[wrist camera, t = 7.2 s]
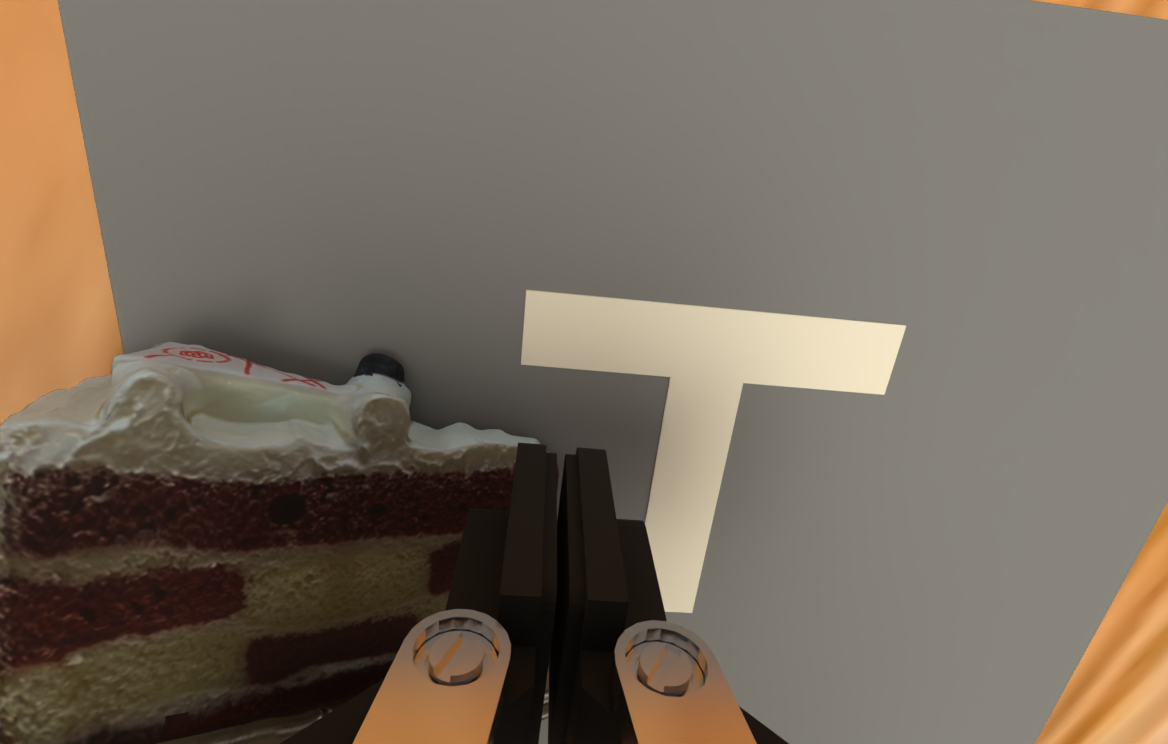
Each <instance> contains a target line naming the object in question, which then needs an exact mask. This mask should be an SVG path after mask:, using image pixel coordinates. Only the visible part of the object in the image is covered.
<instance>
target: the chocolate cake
mask: <svg viewBox="0 0 1168 744" xmlns="http://www.w3.org/2000/svg"><path fill="white" fill-rule="evenodd" d="M111 369H112V375H106V376H100V377H92V378H88V379H85V380H83V381H81V382H80V383H79V384H78V385H77V386H75V387H73V388H71V389H59V390H54V391H52V392H50V393H48V394H46V395H43V396H42V397H40V398H39V399H37V400H36V401H34V402H32V403H30V404H29V405H28V406H26V407H25V408H24V409H23V410H22V411H20V412H18V413H15V414H13V415H11V416H9V417H8V418H7V419H6V420H5V421H4V422H3V423H2V424H1V426H0V744H280V743H282V742H283V741H285V740H286V739H288V738H290V737H291V736H293V735H294V734H296V733H298V732H299V731H301V730H302V729H304V728H306V727H307V726H309V725H310V724H312V723H314V722H315V721H317V720H318V719H320V718H322V717H323V716H325V715H326V714H328V713H330V712H331V711H333V710H334V709H336V708H338V707H339V706H341V705H342V704H344V703H346V702H347V701H349V700H350V699H352V698H354V697H355V696H357V695H358V694H360V693H362V692H363V691H365V690H366V689H368V688H370V687H371V686H373V685H374V684H376V683H378V682H379V681H381V680H382V679H384V678H385V677H386V675H387V673H388V671H389V669H390V667H391V665H392V663H393V661H394V659H395V657H396V655H397V653H398V651H399V649H400V647H401V645H402V643H403V641H404V639H405V638H406V636H407V635H408V634H409V632H410V631H411V629H412V628H413V627H414V626H416V625H417V624H418V623H419V622H421V621H422V620H423V619H425V618H427V617H429V616H431V615H433V614H436V613H438V612H441V611H445V609H446V605H447V601H448V596H449V592H450V588H451V583H452V579H453V575H454V570H455V566H456V562H457V557H458V553H459V549H460V544H461V540H462V536H463V531H464V527H465V523H466V518H467V514H468V510H469V509H470V508H477V509H491V510H505V511H510V504H511V496H512V488H513V480H514V472H515V463H516V455H517V447H518V442H519V443H531V444H540V442H539V441H538V440H537V439H535V438H528V437H519V436H513V435H510V434H507V433H505V432H504V431H502V430H499V429H487V430H477V429H475V428H473V427H471V426H470V425H468V424H466V423H461V422H458V423H455V424H452V425H450V426H447V427H445V428H443V429H439V430H436V429H433V428H431V427H428V426H425V425H423V424H420V423H417V422H415V421H413V420H411V419H410V418H411V417H410V411H409V407H410V403H411V392H410V390H409V389H408V388H407V387H406V386H405V373H404V368H403V366H402V365H401V364H400V363H399V362H398V361H397V360H395V359H393V358H391V357H389V356H387V355H385V354H382V353H372V354H368V355H366V356H364V357H363V358H362V359H361V361H360V362H359V365H358V367H357V369H356V373H355V374H354V376H353V377H352V378H351V379H350V380H349V381H348V382H347V383H346V384H345V385H332V384H329V383H327V382H325V381H321V380H316V379H311V378H307V377H303V376H300V375H297V374H293V373H286V372H282V371H278V370H276V369H273V368H270V367H266V366H262V365H259V364H256V363H253V362H251V361H248V360H246V359H243V358H239V357H236V356H232V355H229V354H225V353H221V352H218V351H215V350H211V349H208V348H206V347H204V346H201V345H186V344H181V343H176V342H165V343H159V344H157V345H155V346H154V347H152V348H151V349H148V350H142V351H138V352H134V353H131V354H121V355H117V356H116V357H114V359H113V362H112V367H111ZM546 452H548V451H546ZM549 453H550V452H549ZM558 478H559V469H558V465H557V489H558ZM548 699H549V666H548V673H547V681H546V689H545V697H544V704H543V712H542V720H545V719H546V718H548ZM542 720H541V721H542Z"/></svg>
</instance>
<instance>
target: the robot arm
mask: <svg viewBox="0 0 1168 744" xmlns="http://www.w3.org/2000/svg"><path fill="white" fill-rule="evenodd" d="M548 666H549V699H548V744H789V743H788V742H786V741H785V740H784V739H782V738H781V737H780V736H778V735H777V734H776V733H774V732H773V731H772V730H770V729H769V728H768V727H766V726H765V725H764V724H762V723H761V722H760V721H758V720H757V719H756V718H754V717H753V716H752V715H750V714H749V713H748V712H746V711H745V710H744V709H742V708H741V707H740V706H739V705H738V703H737V701H736V699H735V697H734V695H733V693H732V690H731V688H730V686H729V684H728V682H727V680H726V678H725V676H724V674H723V671H722V669H721V667H720V665H719V663H718V661H717V659H716V657H715V655H714V654H713V652H712V651H711V649H710V648H709V646H708V645H707V644H706V643H705V642H704V641H703V640H702V639H701V638H700V637H699V636H698V635H696V634H695V633H694V632H692V631H690V630H688V629H686V628H685V627H683V626H681V625H677V624H674V623H671V622H667V619H666V615H665V610H664V606H663V601H662V597H661V592H660V588H659V583H658V579H657V574H656V570H655V565H654V561H653V556H652V552H651V547H650V543H649V539H648V534H647V530H646V526H645V523H644V522H643V521H642V520H628V519H616V513H615V506H614V500H613V493H612V487H611V480H610V473H609V467H608V460H607V454H606V450H604V449H592V448H580V447H577V449H576V455H573V454H565V459H564V467H563V476H562V484H561V492H560V501H559V509H558V517H557V453H549V452H546V445H543V444H531V443H519V442H518V447H517V455H516V463H515V472H514V480H513V488H512V496H511V504H510V511H505V510H491V509H477V508H470V509H469V510H468V514H467V518H466V523H465V527H464V531H463V536H462V540H461V544H460V549H459V553H458V557H457V562H456V566H455V570H454V575H453V579H452V583H451V588H450V592H449V596H448V601H447V605H446V609H445V611H441V612H438V613H436V614H433V615H431V616H429V617H427V618H425V619H423V620H422V621H421V622H419V623H418V624H417V625H416V626H414V627H413V628H412V629H411V631H410V632H409V634H408V635H407V636H406V638H405V639H404V641H403V643H402V645H401V647H400V649H399V651H398V653H397V655H396V657H395V659H394V661H393V663H392V665H391V667H390V669H389V671H388V673H387V675H386V677H385V678H384V679H382V680H381V681H379V682H378V683H376V684H374V685H373V686H371V687H370V688H368V689H366V690H365V691H363V692H362V693H360V694H358V695H357V696H355V697H354V698H352V699H350V700H349V701H347V702H346V703H344V704H342V705H341V706H339V707H338V708H336V709H334V710H333V711H331V712H330V713H328V714H326V715H325V716H323V717H322V718H320V719H318V720H317V721H315V722H314V723H312V724H310V725H309V726H307V727H306V728H304V729H302V730H301V731H299V732H298V733H296V734H294V735H293V736H291V737H290V738H288V739H286V740H285V741H283V742H282V743H280V744H538V743H539V736H540V728H541V720H542V712H543V704H544V697H545V689H546V681H547V673H548Z"/></svg>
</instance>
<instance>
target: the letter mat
mask: <svg viewBox="0 0 1168 744" xmlns="http://www.w3.org/2000/svg"><path fill="white" fill-rule="evenodd" d="M58 4H59V10H60V15H61V20H62V26H63V31H64V36H65V42H66V47H67V52H68V58H69V63H70V68H71V74H72V79H73V84H74V90H75V95H76V100H77V106H78V111H79V116H80V122H81V127H82V132H83V138H84V143H85V148H86V154H87V159H88V164H89V170H90V175H91V180H92V186H93V191H94V196H95V202H96V207H97V212H98V218H99V223H100V228H101V234H102V239H103V244H104V250H105V255H106V260H107V265H108V271H109V276H110V281H111V287H112V292H113V297H114V303H115V308H116V313H117V319H118V324H119V329H120V335H121V340H122V345H123V351H124V354H131V353H134V352H138V351H142V350H148V349H151V348H152V347H154V346H155V345H157V344H159V343H165V342H176V343H181V344H186V345H201V346H204V347H206V348H208V349H211V350H215V351H218V352H221V353H225V354H229V355H232V356H236V357H239V358H243V359H246V360H248V361H251V362H253V363H256V364H259V365H262V366H266V367H270V368H273V369H276V370H278V371H282V372H286V373H293V374H297V375H300V376H303V377H307V378H311V379H316V380H321V381H325V382H327V383H329V384H332V385H345V384H346V383H347V382H348V381H349V380H350V379H351V378H352V377H353V376H354V374H355V373H356V369H357V367H358V365H359V362H360V361H361V359H362V358H363V357H364V356H366V355H368V354H372V353H382V354H385V355H387V356H389V357H391V358H393V359H395V360H397V361H398V362H399V363H400V364H401V365H402V366H403V368H404V373H405V386H406V387H407V388H408V389H409V390H410V392H411V403H410V407H409V411H410V417H411V418H410V419H411V420H413V421H415V422H417V423H420V424H423V425H425V426H428V427H431V428H433V429H436V430H439V429H443V428H445V427H447V426H450V425H452V424H455V423H458V422H461V423H466V424H468V425H470V426H471V427H473V428H475V429H477V430H487V429H499V430H502V431H504V432H505V433H507V434H510V435H513V436H519V437H528V438H535V439H537V440H538V441H539V442H540V444H543V445H546V451H548V452H550V453H557V465H558V469H559V478H558V489H557V517H558V509H559V501H560V492H561V484H562V476H563V467H564V459H565V454H573V455H576V449H577V447H580V448H592V449H604V450H606V454H607V460H608V467H609V473H610V480H611V487H612V493H613V500H614V506H615V513H616V519H628V520H642V521H643V522H644V523H645V526H646V530H647V534H648V539H649V543H650V547H651V552H652V556H653V561H654V565H655V570H656V574H657V579H658V583H659V588H660V592H661V597H662V601H663V606H664V610H665V615H666V619H667V622H671V623H674V624H677V625H681V626H683V627H685V628H686V629H688V630H690V631H692V632H694V633H695V634H696V635H698V636H699V637H700V638H701V639H702V640H703V641H704V642H705V643H706V644H707V645H708V646H709V648H710V649H711V651H712V652H713V654H714V655H715V657H716V659H717V661H718V663H719V665H720V667H721V669H722V671H723V674H724V676H725V678H726V680H727V682H728V684H729V686H730V688H731V690H732V693H733V695H734V697H735V699H736V701H737V703H738V705H739V706H740V707H741V708H742V709H744V710H745V711H746V712H748V713H749V714H750V715H752V716H753V717H754V718H756V719H757V720H758V721H760V722H761V723H762V724H764V725H765V726H766V727H768V728H769V729H770V730H772V731H773V732H774V733H776V734H777V735H778V736H780V737H781V738H782V739H784V740H785V741H786V742H788V743H789V744H1035V742H1036V740H1037V738H1038V737H1039V735H1040V733H1041V731H1042V729H1043V728H1044V726H1045V724H1046V722H1047V720H1048V718H1049V717H1050V715H1051V713H1052V711H1053V709H1054V708H1055V706H1056V704H1057V702H1058V700H1059V698H1060V697H1061V695H1062V693H1063V691H1064V689H1065V688H1066V686H1067V684H1068V682H1069V680H1070V678H1071V677H1072V675H1073V673H1074V671H1075V669H1076V668H1077V666H1078V664H1079V662H1080V660H1081V658H1082V657H1083V655H1084V653H1085V651H1086V649H1087V648H1088V646H1089V644H1090V642H1091V640H1092V638H1093V637H1094V635H1095V633H1096V631H1097V629H1098V628H1099V626H1100V624H1101V622H1102V620H1103V618H1104V617H1105V615H1106V613H1107V611H1108V609H1109V607H1110V606H1111V604H1112V602H1113V600H1114V598H1115V597H1116V595H1117V593H1118V591H1119V589H1120V587H1121V586H1122V584H1123V582H1124V580H1125V578H1126V577H1127V575H1128V573H1129V571H1130V569H1131V567H1132V566H1133V564H1134V562H1135V560H1136V558H1137V557H1138V555H1139V553H1140V551H1141V549H1142V547H1143V546H1144V544H1145V542H1146V540H1147V538H1148V537H1149V535H1150V533H1151V531H1152V529H1153V527H1154V526H1155V524H1156V522H1157V520H1158V518H1159V517H1160V515H1161V513H1162V511H1163V509H1164V507H1165V506H1166V504H1167V502H1168V20H1164V19H1157V18H1150V17H1143V16H1136V15H1129V14H1122V13H1115V12H1108V11H1101V10H1094V9H1087V8H1080V7H1073V6H1065V5H1058V4H1051V3H1044V2H1037V1H1030V0H58ZM538 744H548V718H546V719H545V720H542V721H541V728H540V736H539V743H538Z"/></svg>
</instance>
